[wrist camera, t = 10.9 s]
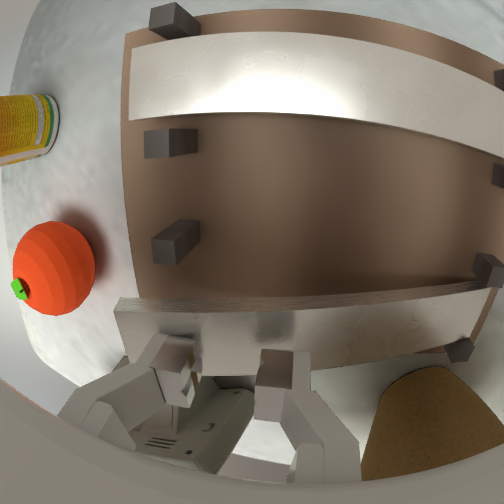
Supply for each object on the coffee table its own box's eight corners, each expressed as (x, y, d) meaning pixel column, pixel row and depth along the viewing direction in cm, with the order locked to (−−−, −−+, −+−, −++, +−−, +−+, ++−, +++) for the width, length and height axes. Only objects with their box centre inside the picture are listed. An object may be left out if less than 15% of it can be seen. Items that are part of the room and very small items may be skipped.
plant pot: (304, 405, 22) (278, 573, 7) (446, 298, 15) (536, 511, 1) (392, 445, 23) (396, 561, 9) (501, 372, 17) (544, 495, 2)
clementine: (70, 292, 22) (21, 334, 16) (41, 225, 20) (-16, 256, 13) (125, 282, 20) (67, 337, 13) (91, 197, 18) (17, 231, 11)
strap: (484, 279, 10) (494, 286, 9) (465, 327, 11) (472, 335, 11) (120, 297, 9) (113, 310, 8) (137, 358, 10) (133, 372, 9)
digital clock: (131, 397, 27) (90, 463, 18) (96, 339, 24) (35, 409, 14) (267, 416, 23) (244, 513, 14) (251, 351, 20) (211, 478, 10)
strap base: (488, 84, 9) (555, 75, 3) (448, 315, 16) (483, 380, 10) (163, 50, 13) (92, 21, 7) (172, 289, 19) (123, 349, 13)
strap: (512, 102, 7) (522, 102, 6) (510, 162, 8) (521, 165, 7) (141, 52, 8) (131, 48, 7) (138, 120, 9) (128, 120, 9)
